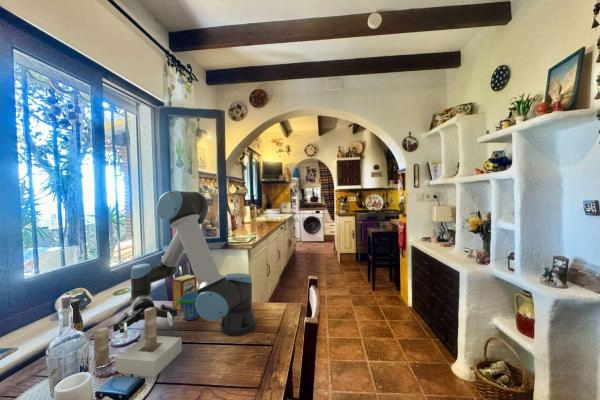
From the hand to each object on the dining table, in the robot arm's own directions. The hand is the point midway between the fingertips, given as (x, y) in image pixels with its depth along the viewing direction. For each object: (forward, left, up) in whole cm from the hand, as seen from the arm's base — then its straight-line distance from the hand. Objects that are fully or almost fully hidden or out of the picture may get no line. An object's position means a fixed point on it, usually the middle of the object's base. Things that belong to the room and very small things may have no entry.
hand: (149, 327), depth 87 cm
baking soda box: (+15, -43, -12) cm, 47 cm away
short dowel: (+20, 0, -12) cm, 23 cm away
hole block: (0, 0, -12) cm, 12 cm away
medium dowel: (+15, +4, -12) cm, 19 cm away
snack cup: (+5, -33, -12) cm, 36 cm away
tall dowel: (0, 0, -12) cm, 12 cm away
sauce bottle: (+31, +1, -12) cm, 33 cm away
